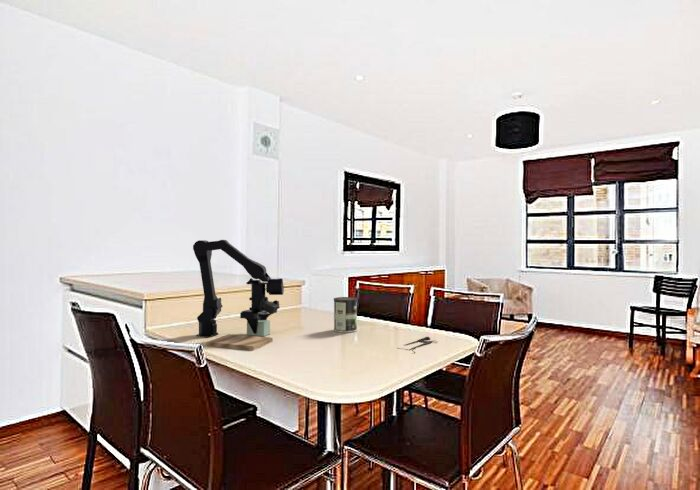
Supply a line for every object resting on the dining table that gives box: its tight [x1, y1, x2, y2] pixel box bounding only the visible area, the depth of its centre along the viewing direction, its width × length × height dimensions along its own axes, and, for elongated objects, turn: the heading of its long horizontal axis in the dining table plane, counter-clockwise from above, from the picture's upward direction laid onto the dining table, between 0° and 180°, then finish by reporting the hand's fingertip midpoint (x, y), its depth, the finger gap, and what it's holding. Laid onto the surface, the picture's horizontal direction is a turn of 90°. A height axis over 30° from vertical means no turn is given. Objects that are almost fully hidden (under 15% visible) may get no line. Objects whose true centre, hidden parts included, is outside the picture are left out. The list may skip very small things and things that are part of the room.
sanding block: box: [246, 319, 271, 337], centre depth 179 cm, size 8×5×6 cm, turn 71°
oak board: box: [206, 333, 274, 351], centre depth 164 cm, size 20×14×2 cm
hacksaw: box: [397, 336, 438, 354], centre depth 161 cm, size 24×10×2 cm, turn 135°
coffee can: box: [333, 296, 358, 334], centre depth 189 cm, size 10×10×14 cm
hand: (258, 332), depth 179 cm, fingers closed on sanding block, 5 cm apart
